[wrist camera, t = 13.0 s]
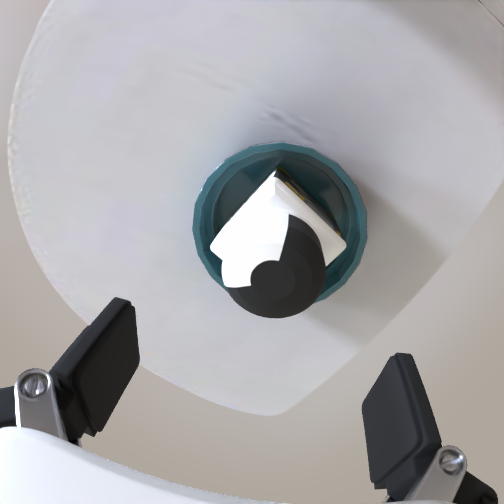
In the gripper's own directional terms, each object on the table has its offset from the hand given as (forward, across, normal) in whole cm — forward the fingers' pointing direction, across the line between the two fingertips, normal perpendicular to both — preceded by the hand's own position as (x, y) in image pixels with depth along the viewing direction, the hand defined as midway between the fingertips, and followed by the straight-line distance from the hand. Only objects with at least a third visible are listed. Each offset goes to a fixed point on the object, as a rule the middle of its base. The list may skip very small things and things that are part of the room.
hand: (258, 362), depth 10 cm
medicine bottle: (+19, 0, +1) cm, 19 cm away
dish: (+20, 0, +1) cm, 20 cm away
